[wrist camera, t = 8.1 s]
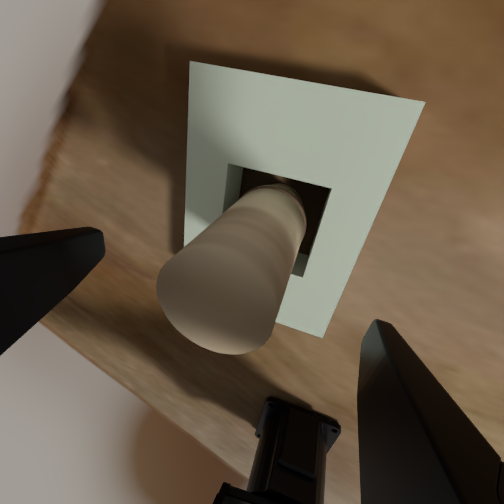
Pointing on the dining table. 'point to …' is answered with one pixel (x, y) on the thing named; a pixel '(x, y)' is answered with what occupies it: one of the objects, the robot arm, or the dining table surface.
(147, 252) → the dining table surface
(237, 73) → the board
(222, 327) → the peg
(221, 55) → the dining table surface
